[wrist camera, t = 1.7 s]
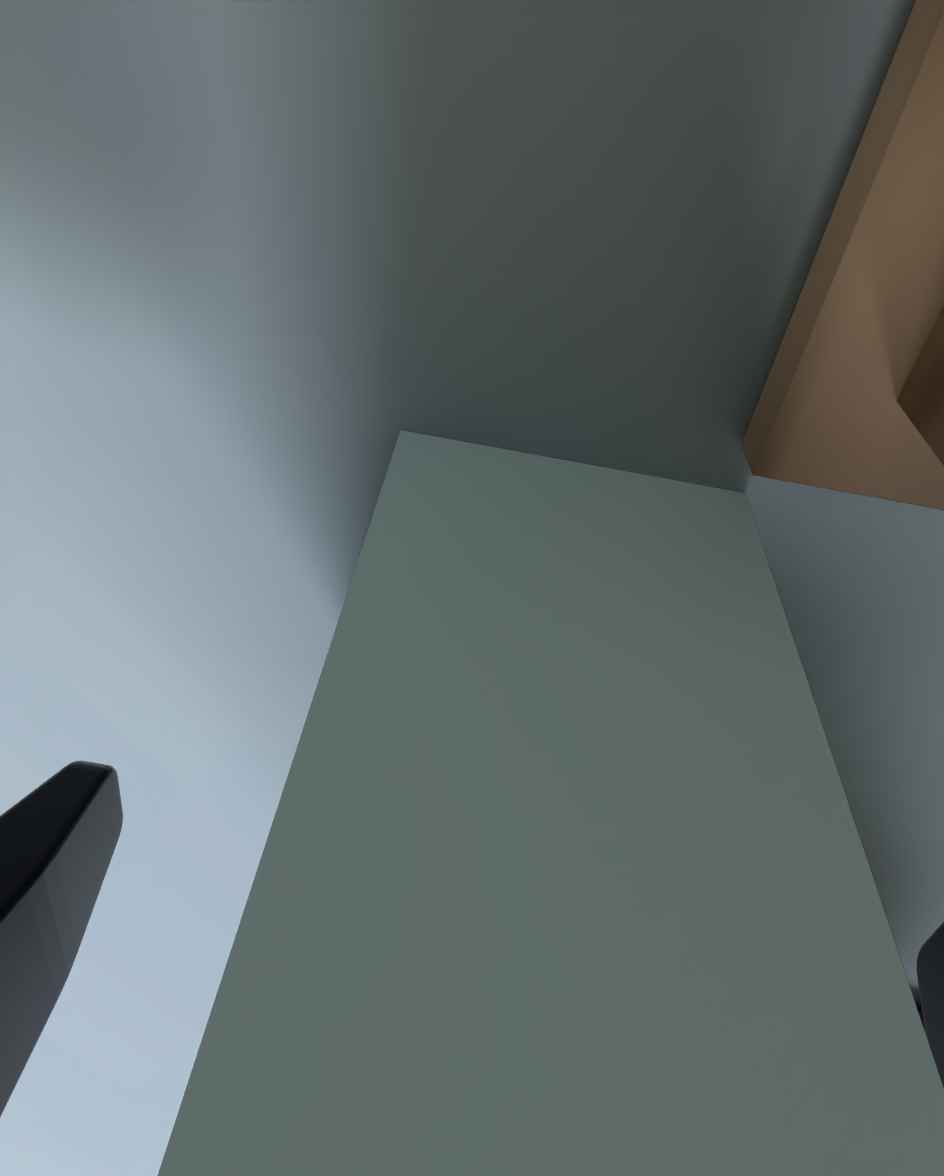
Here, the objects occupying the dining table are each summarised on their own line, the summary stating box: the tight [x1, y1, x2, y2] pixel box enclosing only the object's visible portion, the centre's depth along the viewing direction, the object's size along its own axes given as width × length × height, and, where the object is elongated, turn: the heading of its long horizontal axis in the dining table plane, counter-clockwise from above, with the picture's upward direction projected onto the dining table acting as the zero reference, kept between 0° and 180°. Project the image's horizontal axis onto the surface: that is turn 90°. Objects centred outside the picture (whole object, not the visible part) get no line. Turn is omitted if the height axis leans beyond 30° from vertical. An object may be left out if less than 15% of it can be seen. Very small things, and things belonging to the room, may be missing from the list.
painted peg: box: [158, 430, 944, 1176], centre depth 9 cm, size 5×5×9 cm
